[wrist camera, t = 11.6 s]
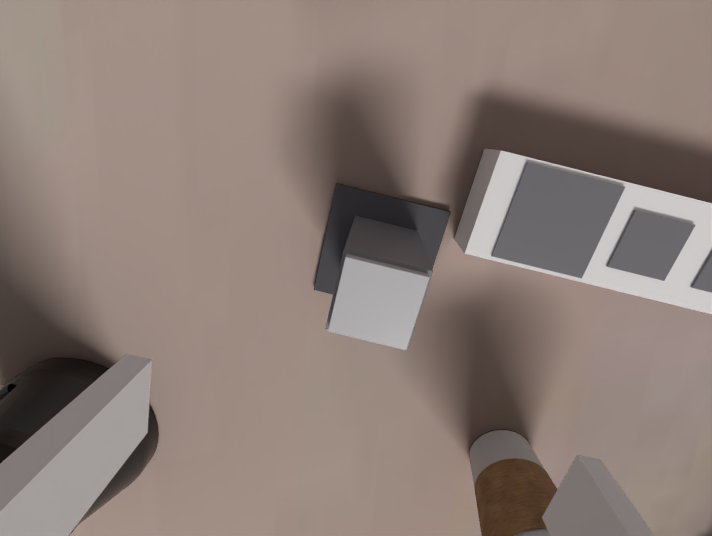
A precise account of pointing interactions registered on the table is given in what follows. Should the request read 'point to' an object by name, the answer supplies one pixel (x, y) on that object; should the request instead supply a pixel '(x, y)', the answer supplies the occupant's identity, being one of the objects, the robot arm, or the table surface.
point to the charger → (380, 284)
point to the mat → (380, 209)
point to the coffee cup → (509, 485)
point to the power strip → (589, 229)
